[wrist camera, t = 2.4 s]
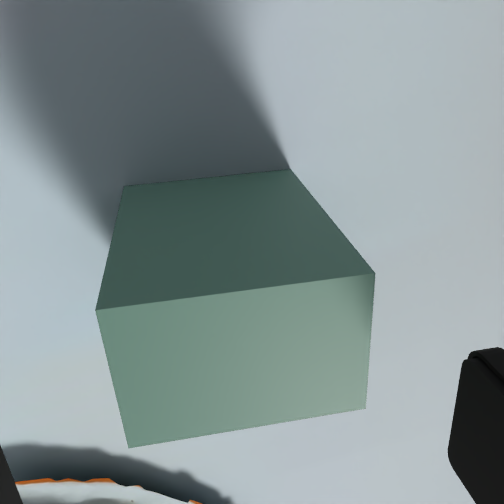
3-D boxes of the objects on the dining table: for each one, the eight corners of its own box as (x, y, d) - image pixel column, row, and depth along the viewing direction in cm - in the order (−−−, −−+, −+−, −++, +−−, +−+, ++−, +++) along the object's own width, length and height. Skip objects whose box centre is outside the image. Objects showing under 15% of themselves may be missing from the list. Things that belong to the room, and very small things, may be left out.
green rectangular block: (124, 186, 17) (95, 310, 10) (290, 168, 18) (375, 273, 11) (141, 283, 19) (128, 448, 12) (292, 264, 19) (365, 408, 12)
